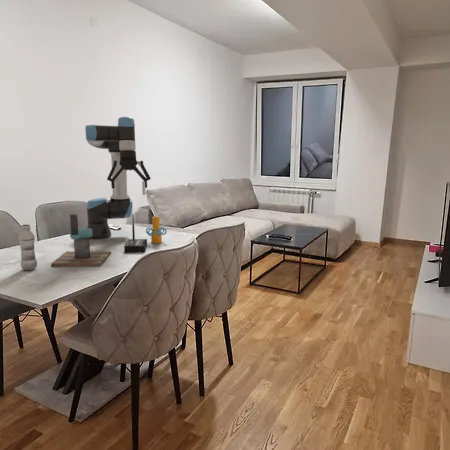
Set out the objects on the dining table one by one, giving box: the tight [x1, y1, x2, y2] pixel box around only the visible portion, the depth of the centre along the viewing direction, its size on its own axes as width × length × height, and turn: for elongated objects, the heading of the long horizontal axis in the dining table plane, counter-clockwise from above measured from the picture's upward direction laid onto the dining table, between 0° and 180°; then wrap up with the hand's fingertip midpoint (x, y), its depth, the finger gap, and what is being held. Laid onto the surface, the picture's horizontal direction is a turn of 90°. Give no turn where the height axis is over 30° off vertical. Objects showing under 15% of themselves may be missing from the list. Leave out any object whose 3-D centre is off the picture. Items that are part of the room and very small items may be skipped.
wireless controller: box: [123, 214, 148, 254], centre depth 212 cm, size 20×14×17 cm
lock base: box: [50, 237, 112, 268], centre depth 188 cm, size 22×22×12 cm
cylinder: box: [145, 215, 168, 244], centre depth 225 cm, size 12×10×15 cm
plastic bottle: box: [18, 224, 38, 271], centre depth 171 cm, size 6×7×20 cm
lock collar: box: [69, 213, 92, 240], centre depth 182 cm, size 17×10×12 cm, turn 5°
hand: (130, 195), depth 187 cm, fingers open, 13 cm apart
